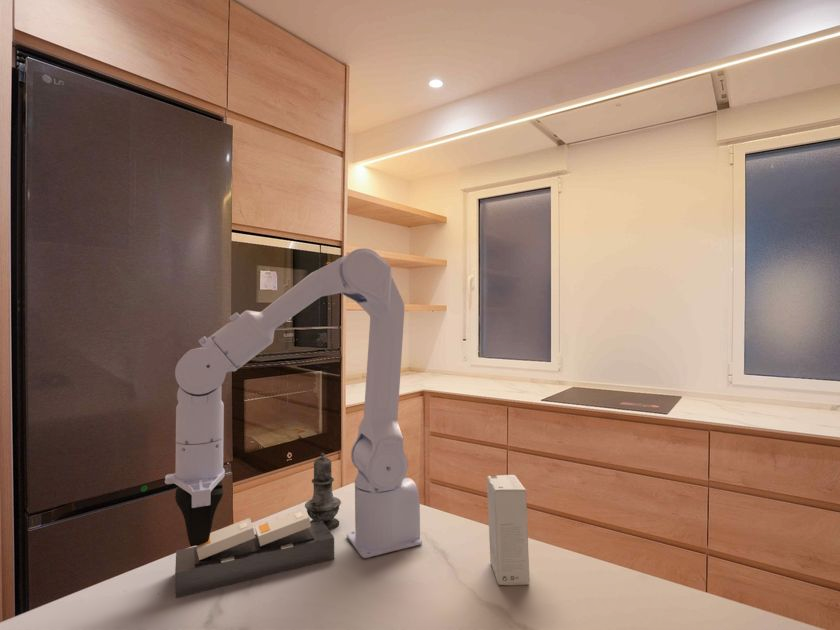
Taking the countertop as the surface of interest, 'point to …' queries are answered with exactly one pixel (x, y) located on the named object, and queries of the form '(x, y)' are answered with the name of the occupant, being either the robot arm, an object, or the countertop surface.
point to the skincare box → (508, 529)
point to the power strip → (252, 560)
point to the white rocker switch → (226, 538)
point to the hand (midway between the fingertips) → (198, 542)
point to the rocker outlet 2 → (282, 526)
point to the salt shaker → (323, 495)
